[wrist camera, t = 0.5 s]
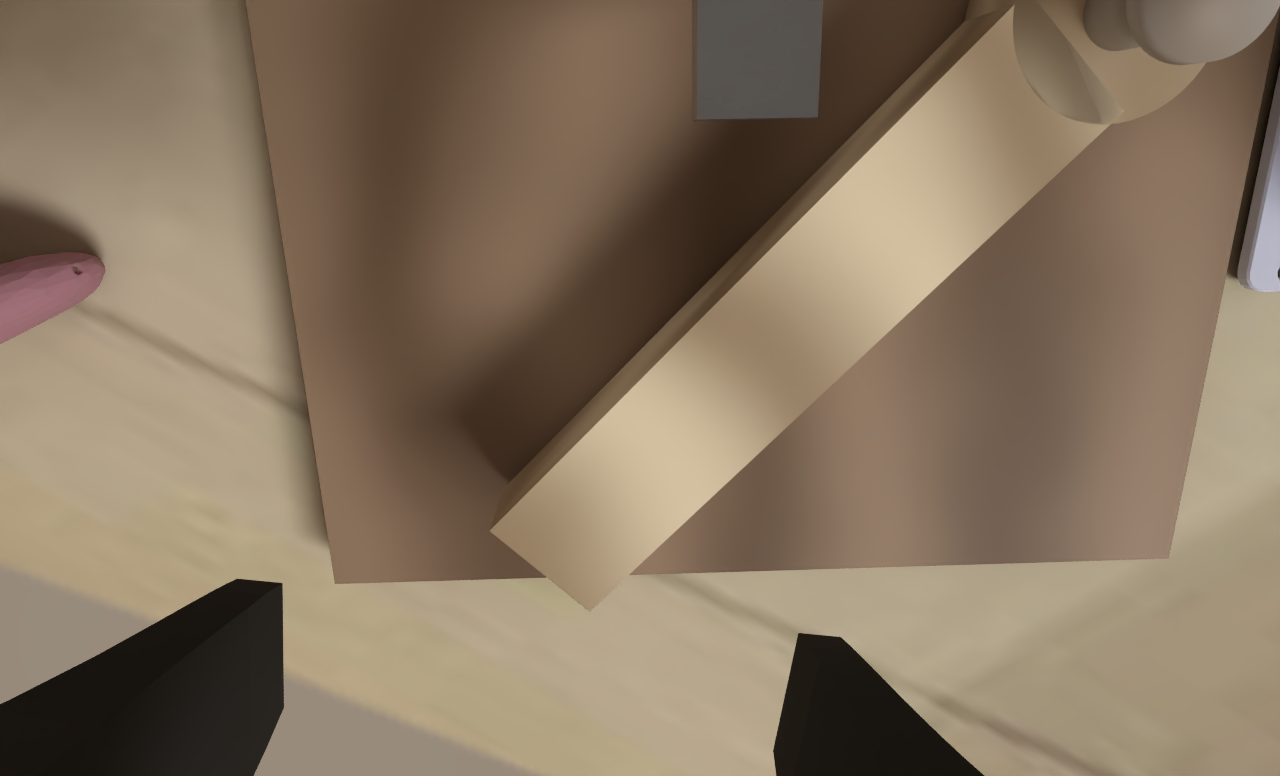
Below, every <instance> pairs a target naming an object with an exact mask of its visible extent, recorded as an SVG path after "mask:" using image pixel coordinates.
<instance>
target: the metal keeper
mask: <svg viewBox="0 0 1280 776" xmlns="http://www.w3.org/2000/svg"><path fill="white" fill-rule="evenodd" d="M822 15H823V0H692V121H710V120H760V119H805V118H815V117H818V104H819V82H820V60H821V37H822Z"/></svg>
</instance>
